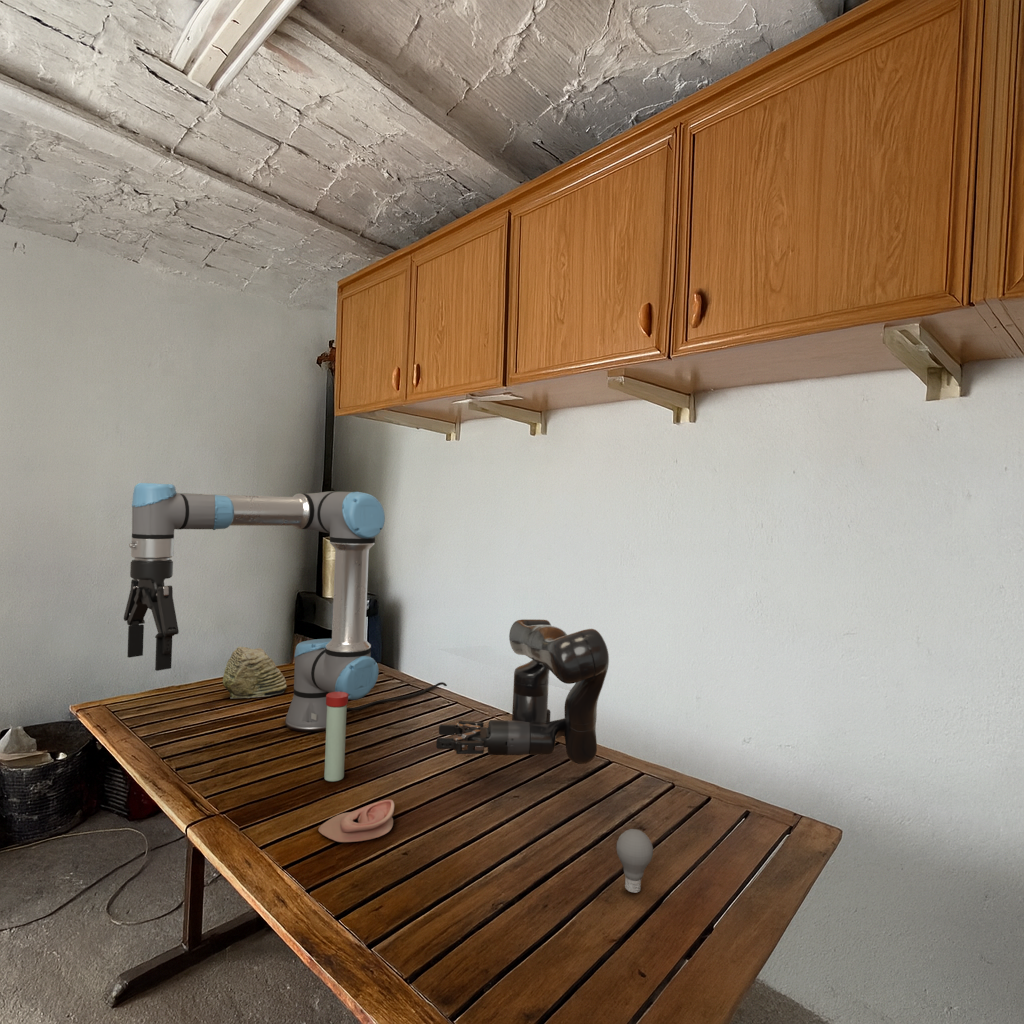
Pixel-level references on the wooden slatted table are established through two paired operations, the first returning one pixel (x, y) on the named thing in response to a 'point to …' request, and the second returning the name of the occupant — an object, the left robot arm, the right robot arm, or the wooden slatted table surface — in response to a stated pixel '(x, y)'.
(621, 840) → the light bulb
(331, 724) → the pale green slim bottle
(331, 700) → the lid
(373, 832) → the anatomical model
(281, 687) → the fossil
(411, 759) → the wooden slatted table surface
